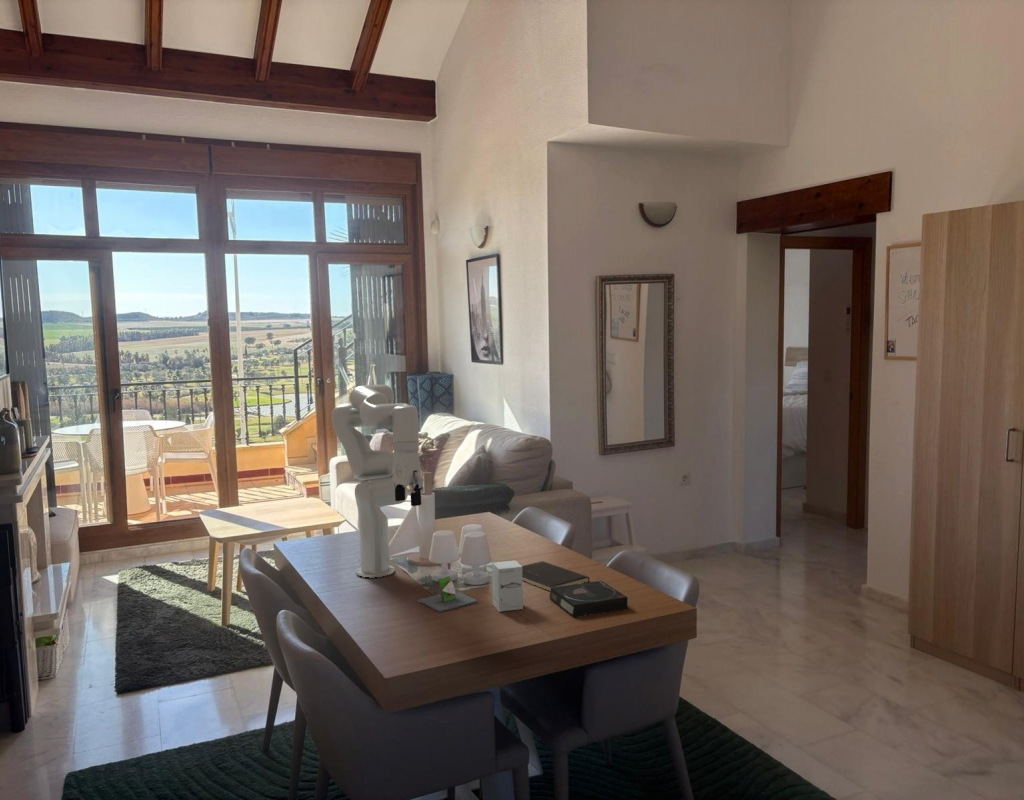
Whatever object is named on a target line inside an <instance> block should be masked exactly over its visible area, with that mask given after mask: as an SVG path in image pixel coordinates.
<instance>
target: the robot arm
mask: <svg viewBox="0 0 1024 800" xmlns="http://www.w3.org/2000/svg"><path fill="white" fill-rule="evenodd" d="M348 399H349V402H347V403H342V404H339V405H337V406H335V407H334V408H333V409H332V412H331V424H332V428H333V431H334V433H335V435H336V437H337V439H338V440H339V442H340V444H341V445H342V446H343V448H344V452H345V455H346V458H347V462H348V464H349V467H350V470H351V471H350V472H351V473H352V475H353V477H354V478H355V479H356V480H359V482H358V483H357V484H356V485H355V488H354V497H355V502H356V507H357V516H358V531H359V536H358V538H359V557H360V558H359V559H358V561H359V563H360V567H357V569H356V571H355V575H357V576H358V575H359V576H358V577H360V576H362V577H361V578H365V577H369V579H375V577H377V578H383V576H384V577H388V576H391V575H392V574H394V572H395V567H394V566H393V565H390V545H389V543H390V542H389V522H388V521H389V520H388V517H387V515H386V514H385V513H384V512H383V510H382V509H381V508H383V507H388V506H394V505H395V506H396V505H400V504H403V503H405V502H406V500H407V499H408V495H409V490H408V487H409V488H410V490H411V492H410V506H411V507H417V506H418V507H419V506H421V505H422V492H423V491H422V490H423V489H422V488H423V487H424V486H423V484H424V478H423V477H422V474H421V471H422V470H421V463H420V455H419V454H420V453H419V452H420V451H419V450H420V445H419V442H420V441H419V415H418V408H417V407H416V406H415V405H411V404H409V403H405V402H401V403H400V402H397V403H394V402H395V394H394V391H393V389H392V388H391V387H390V386H389V385H387V384H365V385H364V384H363V385H359V386H356V387H354V388H353V389H351V391H350V393H349V396H348ZM360 427H361V428H362V427H368V428H369V429H371V430H386V429H392V441H393V443H392V444H393V451H392V450H389V449H380V450H378V449H377V450H373V449H372V448H371V444H370V442H369V440H368V438H367V437H366V436H365V435H364V434H363V433H362V432H360V431H359V430H357V429H356V428H360ZM387 575H388V576H387Z"/></svg>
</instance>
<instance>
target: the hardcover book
mask: <svg viewBox="0 0 1024 800" xmlns="http://www.w3.org/2000/svg"><path fill="white" fill-rule="evenodd" d="M521 566H522V580H523V582H524V581H526V582H525V583H527V582H528V583H527V584H529V583H531V585H532V584H533V586H535V585H536V586H535V587H537V586H538V588H540V587H541V588H540V589H542V588H544V589H543V590H545V589H546V591H548V590H549V591H548V592H550V591H551V588H553V587H560V586H567V585H574V584H579V583H584V582H585V583H588V581H589V582H590V577H589V576H588V575H584V574H581V573H578V572H576V571H572V570H570V569H567V568H565V567H561V566H558V565H556V564H552V563H550V562H546V561H538V562H532V563H528V564H525V565H521Z"/></svg>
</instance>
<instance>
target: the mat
mask: <svg viewBox="0 0 1024 800" xmlns="http://www.w3.org/2000/svg"><path fill="white" fill-rule="evenodd" d="M454 596H455V599H452V600H449V601H446V602H443V600H444V599H442V598H441V593H440V594H437V595H432V596H427V597H423V598H419V599H418V601H420V602H421V604H422V603H423V604H422V605H424V604H425V606H426V605H427V607H428V606H429V607H428V608H430V607H431V609H432V608H433V609H432V610H434V609H435V610H434V611H436V610H437V612H438V611H439V612H438V613H441V612H442V611H443V612H445V610H446V611H450V610H454V609H459V608H461V606H462V607H465V605H466V606H470V605H473V604H477V603H478V600H477V599H475V598H473V597H471V596H468V595H466V594H464V593H461V592H459V591H458V590H455V595H454ZM418 601H417V602H418ZM420 602H419V603H420ZM476 602H477V603H476ZM469 604H470V605H469Z"/></svg>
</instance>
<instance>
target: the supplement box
mask: <svg viewBox="0 0 1024 800" xmlns="http://www.w3.org/2000/svg"><path fill="white" fill-rule="evenodd" d="M522 566H523V565H521V564H520V563H519V562H518V561H517V560H507V561H505V560H504V561H497V562H496V561H495V562H492V563H491V579H492V580H491V582H492V583H491V586H492V590H491V591H492V605H493V607H494V608H495V609H496V610H497V611H498V613H501V612H507V611H517V610H520V609H521V610H523V609H524V598H523V597H524V593H523V592H524V590H523V585H524V584H523V582H524V581H522Z"/></svg>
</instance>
